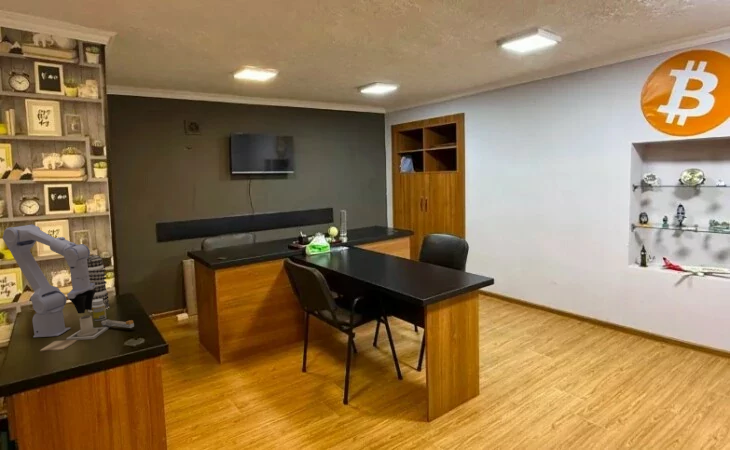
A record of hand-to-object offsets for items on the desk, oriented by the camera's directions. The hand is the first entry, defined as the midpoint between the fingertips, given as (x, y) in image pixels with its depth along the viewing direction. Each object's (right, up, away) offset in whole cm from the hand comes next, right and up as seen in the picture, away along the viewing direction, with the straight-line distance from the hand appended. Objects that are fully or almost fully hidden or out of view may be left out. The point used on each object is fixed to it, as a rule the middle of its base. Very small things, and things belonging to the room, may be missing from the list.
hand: (84, 311), depth 163 cm
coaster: (-3, -11, -9) cm, 14 cm away
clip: (+9, -7, +6) cm, 13 cm away
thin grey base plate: (+3, -8, +8) cm, 12 cm away
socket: (0, -9, +1) cm, 9 cm away
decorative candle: (-15, -6, +32) cm, 36 cm away
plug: (0, -9, +1) cm, 9 cm away
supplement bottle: (-6, -7, +19) cm, 21 cm away
